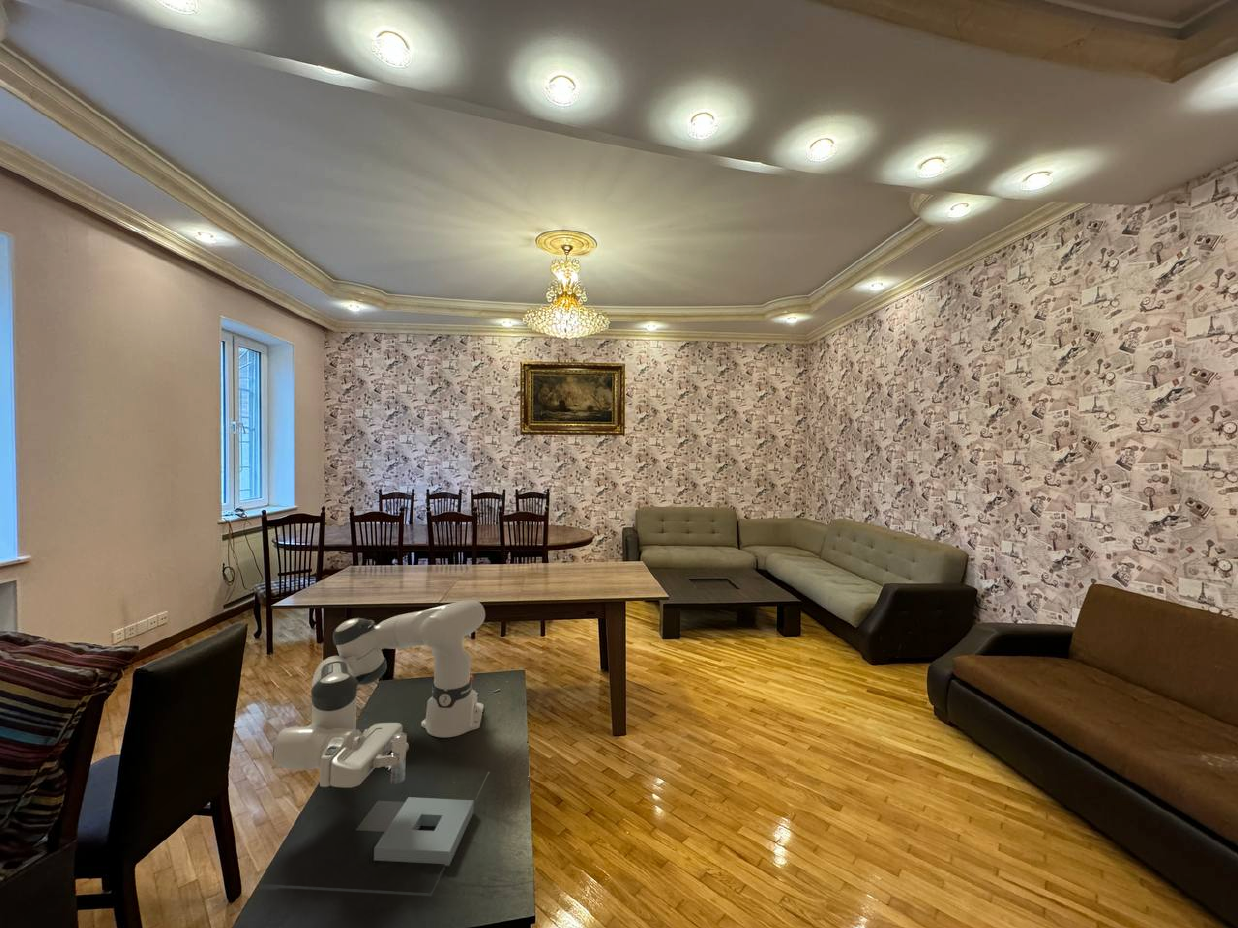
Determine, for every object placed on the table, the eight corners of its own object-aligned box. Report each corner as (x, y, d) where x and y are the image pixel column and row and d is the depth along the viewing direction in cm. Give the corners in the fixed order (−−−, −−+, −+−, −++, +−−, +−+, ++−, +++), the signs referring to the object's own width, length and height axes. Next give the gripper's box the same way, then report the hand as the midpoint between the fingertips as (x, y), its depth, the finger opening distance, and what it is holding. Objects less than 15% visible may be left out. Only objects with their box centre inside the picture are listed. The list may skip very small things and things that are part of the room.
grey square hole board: (408, 809, 119) (408, 796, 119) (473, 812, 119) (473, 800, 119) (373, 861, 103) (374, 847, 103) (448, 865, 103) (449, 851, 103)
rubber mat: (377, 802, 121) (377, 800, 121) (405, 803, 121) (405, 801, 121) (355, 831, 111) (355, 829, 111) (385, 833, 111) (385, 831, 111)
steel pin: (394, 774, 115) (396, 732, 115) (407, 775, 115) (409, 732, 115) (388, 783, 112) (390, 739, 112) (400, 783, 112) (402, 739, 112)
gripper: (368, 739, 124) (422, 742, 124) (315, 791, 104) (379, 795, 103) (369, 714, 124) (423, 717, 124) (316, 761, 104) (380, 765, 103)
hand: (402, 753), depth 113 cm, fingers closed on steel pin, 3 cm apart
